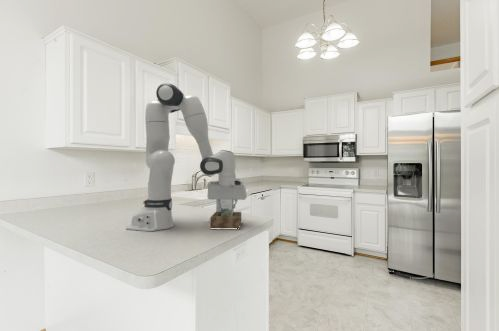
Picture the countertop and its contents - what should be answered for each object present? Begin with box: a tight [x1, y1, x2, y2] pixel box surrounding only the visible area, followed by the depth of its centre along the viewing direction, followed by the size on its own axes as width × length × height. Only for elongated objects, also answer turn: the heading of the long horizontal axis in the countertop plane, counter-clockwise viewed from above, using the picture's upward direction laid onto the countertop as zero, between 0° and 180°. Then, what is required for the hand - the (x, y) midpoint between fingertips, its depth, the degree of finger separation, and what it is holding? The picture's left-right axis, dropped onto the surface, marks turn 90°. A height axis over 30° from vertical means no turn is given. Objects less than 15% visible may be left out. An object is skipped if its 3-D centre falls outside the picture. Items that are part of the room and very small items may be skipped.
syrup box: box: [221, 199, 233, 216], centre depth 124 cm, size 6×6×14 cm
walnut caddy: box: [209, 211, 242, 229], centre depth 124 cm, size 14×14×6 cm
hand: (227, 208), depth 124 cm, fingers closed on syrup box, 6 cm apart
